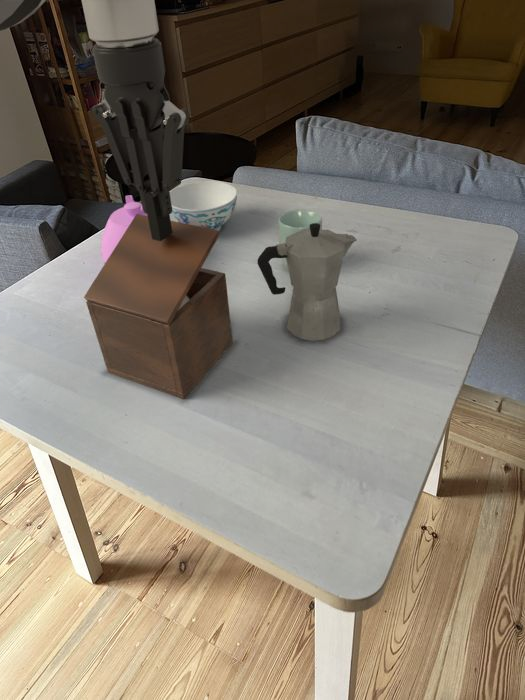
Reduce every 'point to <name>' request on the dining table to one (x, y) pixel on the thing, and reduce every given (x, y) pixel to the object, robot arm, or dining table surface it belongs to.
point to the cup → (296, 224)
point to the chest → (168, 338)
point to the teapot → (119, 225)
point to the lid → (152, 269)
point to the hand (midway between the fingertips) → (162, 235)
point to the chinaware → (203, 203)
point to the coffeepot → (310, 279)
